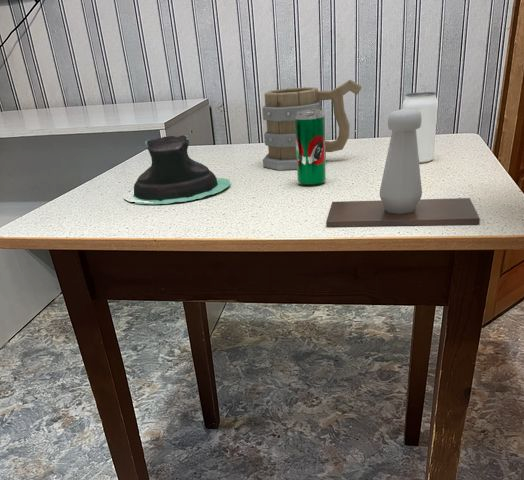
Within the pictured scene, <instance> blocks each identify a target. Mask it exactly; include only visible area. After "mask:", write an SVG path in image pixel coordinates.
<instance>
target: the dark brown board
mask: <svg viewBox="0 0 524 480" xmlns="http://www.w3.org/2000/svg"><path fill="white" fill-rule="evenodd" d="M480 221H481V218H480V216H479V214H478V212H477V210H476V208H475V205H474V204H473V202H472V200H471V198H470V197H462V198H461V197H460V198H459V197H458V198H457V197H456V198H424V199H423V198H420V200H419V202H418V203H417V205H416V207H415V209H414V210H413V212H409V213H403V214H397V213H388V212H387V210H386V209H385V207H384V204H383V202H382V200H381V199H379V200H348V201H347V200H346V201H345V200H344V201H332V202H331V205H330V208H329V212H328V214H327V218H326V221H325V227H327V228H338V227H339V228H344V227H345V228H348V227H398V226H399V227H400V226H401V227H403V226H404V227H405V226H409V227H410V226H459V225H461V226H463V225H464V226H465V225H469V226H471V225H480Z"/></svg>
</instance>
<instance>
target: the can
mask: <svg viewBox="0 0 524 480" xmlns="http://www.w3.org/2000/svg"><path fill="white" fill-rule="evenodd" d="M438 108H439V101H438V98H437V92H435V91H418V92H417V91H416V92H409V93H406V94H405V98H404V100H403V102H402V107H401V109H415V110H418V111H419V112H420V113H421V119H422V120H421V126H420V128H418V129H416V136H417V146H418V157H419V164H425V163H430V162H432V160H433V159H434V157H435V149H436V148H435V146H436V135H437V134H436V133H437V122H438Z"/></svg>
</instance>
